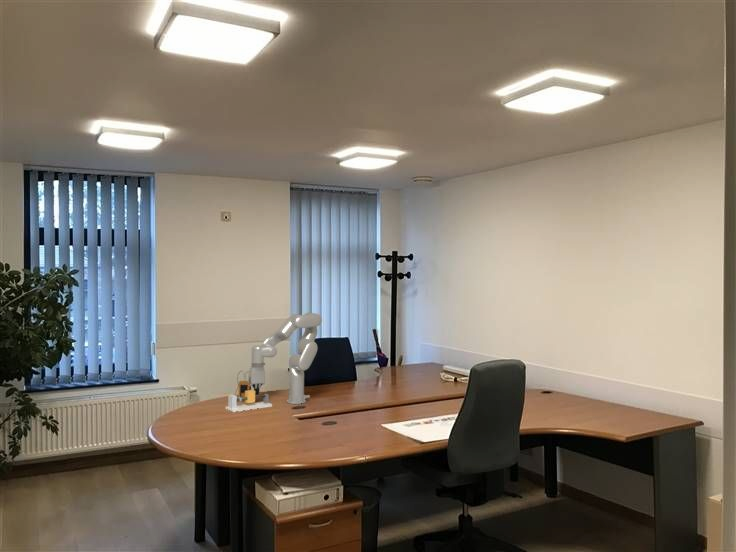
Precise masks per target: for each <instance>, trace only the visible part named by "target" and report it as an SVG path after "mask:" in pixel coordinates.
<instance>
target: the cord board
mask: <svg viewBox="0 0 736 552" xmlns="http://www.w3.org/2000/svg"><path fill="white" fill-rule="evenodd" d="M260 398H263V399H262V400H263V401H258V402H256V401H255V402H253V403H243V404H237V403H240V402H243V401H242V400H247V398H241V397H239V398H238V396H237V395H236V394H228V398H227V400H228V401H227V403H228V404H227V405H228V406H227V405H226V406H225V410H227V409H228V410H227V411H229V410H230V411H229V412H231V411H232V412H231V413H237V412H236V411H238V412H242V411H243V410H245V411H249V410H250V409H252V410H258V409H257V408H259V409H265V408H271V407H273V404H272V403H271V402H270V399H269V398H270V395H269V393H264V394H263V395H255V399H260ZM237 401H238V402H237ZM250 411H251V410H250ZM243 412H244V411H243Z"/></svg>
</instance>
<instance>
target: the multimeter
mask: <svg viewBox="0 0 736 552" xmlns="http://www.w3.org/2000/svg"><path fill="white" fill-rule="evenodd" d="M240 373H242V370H240V371H239V372H238V374H237V380H238V384H237V389H236V391H235V393H234V395H236V393H237V391H238V396H237V399H238V398H239V397H241V398H245V391H248V390H252V386H249V382H248V380H247V373H249V370H248V371H246V372H245V374H244V380H240V381H239V374H240ZM241 402H245V400H242V401H241Z"/></svg>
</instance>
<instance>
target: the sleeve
mask: <svg viewBox="0 0 736 552" xmlns="http://www.w3.org/2000/svg"><path fill="white" fill-rule="evenodd" d="M255 396H256V395H255V391H254V389H251V390H248V391H245V398H247V400H245V401H244V402H245V404H248V403H255V402H256V398H255Z"/></svg>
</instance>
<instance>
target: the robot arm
mask: <svg viewBox="0 0 736 552" xmlns="http://www.w3.org/2000/svg"><path fill="white" fill-rule="evenodd" d="M322 321H323V319H322V316H321V315H320V314H319V313H313V312H305V313H304V314H295V313H294V314H291V315H289V316H288V318H287V319H286V320H285V322H283V324H282V325H281V327H279V328H278V330H276V331H274V333H272V334H270V335H269V336H268V337H267V338H266V339H264V341H263V343H262V344H261V345H253V346H252V348H251V362H250V363H251V365H250V366H251V367H249V370H248V371H249V372H248V378H247V381H248V382H249V386H251V387H252V388H253V390H254V391H255V396H260V388H261V387H262V386H264V385H265V384H266V370H265V365H266V363H265V361H264V360H265V358H274V357H276V355H277V354H278V349H277V348H276V347H275V346H277V345H278V344H279V343H281V342H283V341H286V340H288V339H290V337H291V336H292V335H293V333H294V332H295V331H296V329H304V332H303V334H302V337H301V338H300V340H299V342H298V345H297V351H298V352H299V353H294V354H292V355H290V357H289V359H288V367H289V368H288V369H289V380H288V383H289V387H288V388H289V389H288V398H287V399H286V403H288V404H290V405H292V404H293V405H301V403H302V404H306V402H307V400H306V399H310V398H311V395H310V394H307V395H306V394H305V371H307V370H309V368H310V366H311V365H312V363H313V361H314V359H315V357H316V355H317V352H318V348H319V347H318V344H317V343H316V342H315V340H316V338H317V336H318V327H319V326H321V324H322ZM300 353H301V354H300Z"/></svg>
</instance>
